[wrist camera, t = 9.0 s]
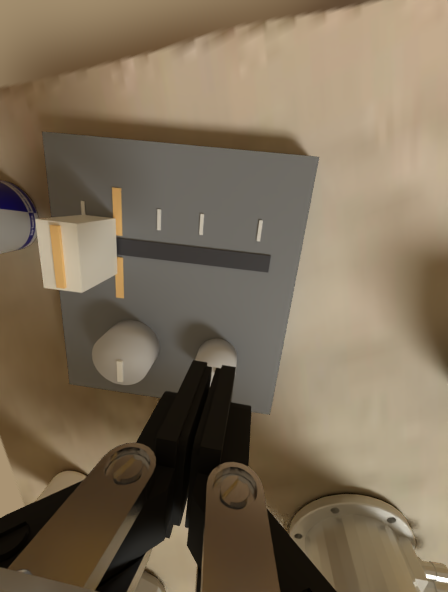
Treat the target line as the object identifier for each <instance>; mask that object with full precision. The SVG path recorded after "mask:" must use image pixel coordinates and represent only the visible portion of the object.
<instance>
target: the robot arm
mask: <svg viewBox="0 0 448 592" xmlns="http://www.w3.org/2000/svg"><path fill="white" fill-rule="evenodd" d="M235 371H236V367H232V366H226V365H222V367H221V368H216V369H215V373H214V376H213V379H212V383H211V373H212V367H209V366H207V362H202V361H196V360H193V361H192V363H191V365H190V367H189V370H188V372H187V374H186V376H185V378H184V380H183V382H182V384H181V386H180V388H179V391H178V393H176V392H170V391H165V392H164V393H163V395H162V397H161V399H160V401H159V402H158V404H157V406H156V408H155V410H154V411H153V413H152V415H151V417H150V419H149V420H148V422H147V424H146V426H145V428H144V429H143V431H142V433H141V435H140V437H139V438H138V440H137V442H136V443H126V444H122V445H119V446H117V447H115V448H113V449H112V450H110V451H109V452H108V453H107V454H106V455H105V456H104V457H103V458H102V459H101V460H100V461H99V463H98V464H97V465H96V466H95V467H94V468H93V470H92V471H91V472H90V473H89V474H88V475H87V477H86V478H85V479H84V480H82V481H80V482H78V483H76V484H73V485H71V486H69V487H67V488H64V489H62V490H60V491H58V492H56V493H53V494H51V495H49V496H47V497H45V498H42V499H40V500H38V501H36V502H34V503H31V504H29V505H27V506H25V507H23V508H20V509H18V510H16V511H14V512H12V513H10V514H7V515H5V516H4V517H2V518H0V592H134V590H135V588H136V586H137V584H138V582H139V580H140V578H141V575H142V573H143V571H144V569H145V567H146V565H147V562H148V560H149V557H150V554H151V551H152V548H153V547H155V546H156V545H158V544H159V543H161V542H162V541H163V540H164V539H165V537H166V538H170V535H171V532H172V528H173V525H177V526H180V524H181V520H182V516H183V513H184V509H185V505H186V501H187V511H186V522H185V527H186V528H189V531H188V541H187V546H188V548H189V550H190V552H191V554H192V556H193V557H194V559H195V561H196V563H197V572H196V588H195V592H448V568H447V567H446V565H444V564H442V563H436V562H430V561H429V562H426V561H422V560H421V559H420V558H419V557H417V555H416V553H415V551H414V550H415V537H414V534H413V531H412V529H411V527H410V525H409V523H408V522H407V520H406V518H405V517H404V516H403V515H402V514H401V512H400V511H398V510H397V509H396V508H394V507H393V506H392V505H390V504H388V503H386V502H384V501H382V500H379V499H376V498H373V497H369V496H364V495H358V494H340V495H332V496H327V497H323V498H320V499H318V500H315V501H313V502H311V503H309V504H308V505H306V506H304V507H303V508H302V509H301V510H300V511H299V512H298V513H296V515H295V516H294V518H293V519H292V521H291V524H290V527H289V534H288V533H287V532H286V531H285V530H284V528H283V527H282V526H281V525H280V524H279V522H278V521H277V520H276V519H275V518H274V516H273V515H272V514H271V513H270V512H269V510H268V509H267V507H266V501H265V495H264V489H263V485H262V482H261V480H260V478H259V477H258V475H257V474H256V473H255V472H254V471H253V470H252V469H251V468H250V467H248V462H249V443H250V425H251V406H250V405H244V404H238V403H233V402H231V400H232V393H233V386H234V378H235ZM210 383H211V386H210ZM187 497H188V500H187Z"/></svg>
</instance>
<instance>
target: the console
mask: <svg viewBox="0 0 448 592" xmlns="http://www.w3.org/2000/svg"><path fill="white" fill-rule="evenodd" d="M42 136H43V145H44V154H45V163H46V172H47V181H48V191H49V200H50V209H51V218H52V217H63V216H74V215H90V216H99V217H108V218H116V246H117V274H116V275H114V276H112V277H111V278H109V279H107V280H105V281H103V282H101V283H100V284H98V285H96V286H94V287H92V288H90V289H88V290H87V291H85V292H83V293H80V292H72V291H64V290H59V291H60V300H61V310H62V319H63V328H64V337H65V346H66V355H67V364H68V374H69V383H70V384H72V385H79V386H85V387H92V388H99V389H105V390H112V391H118V392H125V393H131V394H138V395H144V396H151V397H157V398H161V397H162V395H163V393H164V392H165V391H170V392H176V393H178V391H179V388H180V386H181V384H182V382H183V380H184V378H185V376H186V374H187V372H188V370H189V367H190V365H191V363H192V361H193V360H196V361H202V362H207V366H209V367H212V373H211V383H212V379H213V376H214V373H215V369H216V368H221V367H222V365H226V366H232V367H236V371H235V378H234V386H233V393H232V400H231V402H233V403H238V404H244V405H250V406H251V412H256V413H262V414H269V415H270V412H271V406H272V401H273V396H274V391H275V385H276V380H277V375H278V370H279V365H280V359H281V354H282V349H283V344H284V338H285V333H286V328H287V323H288V317H289V312H290V307H291V302H292V297H293V291H294V286H295V281H296V276H297V270H298V265H299V260H300V255H301V250H302V244H303V239H304V234H305V229H306V223H307V218H308V213H309V208H310V203H311V197H312V192H313V187H314V182H315V176H316V171H317V166H318V161H319V157H315V156H304V155H293V154H282V153H271V152H260V151H249V150H238V149H227V148H216V147H205V146H194V145H183V144H172V143H162V142H151V141H140V140H129V139H118V138H107V137H96V136H85V135H74V134H63V133H52V132H42ZM211 383H210V386H211Z"/></svg>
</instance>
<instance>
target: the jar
mask: <svg viewBox="0 0 448 592" xmlns="http://www.w3.org/2000/svg"><path fill="white" fill-rule="evenodd" d="M134 592H166V591H165V588H164V586H163V585H162V584H161V582H160V581H159V580H158V579H157V578H156V577H154V576H153V575H151V574H149V573H147V572H145V571H143V573H142V575H141V578H140V580H139V582H138V584H137V586H136V588H135V590H134Z"/></svg>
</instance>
